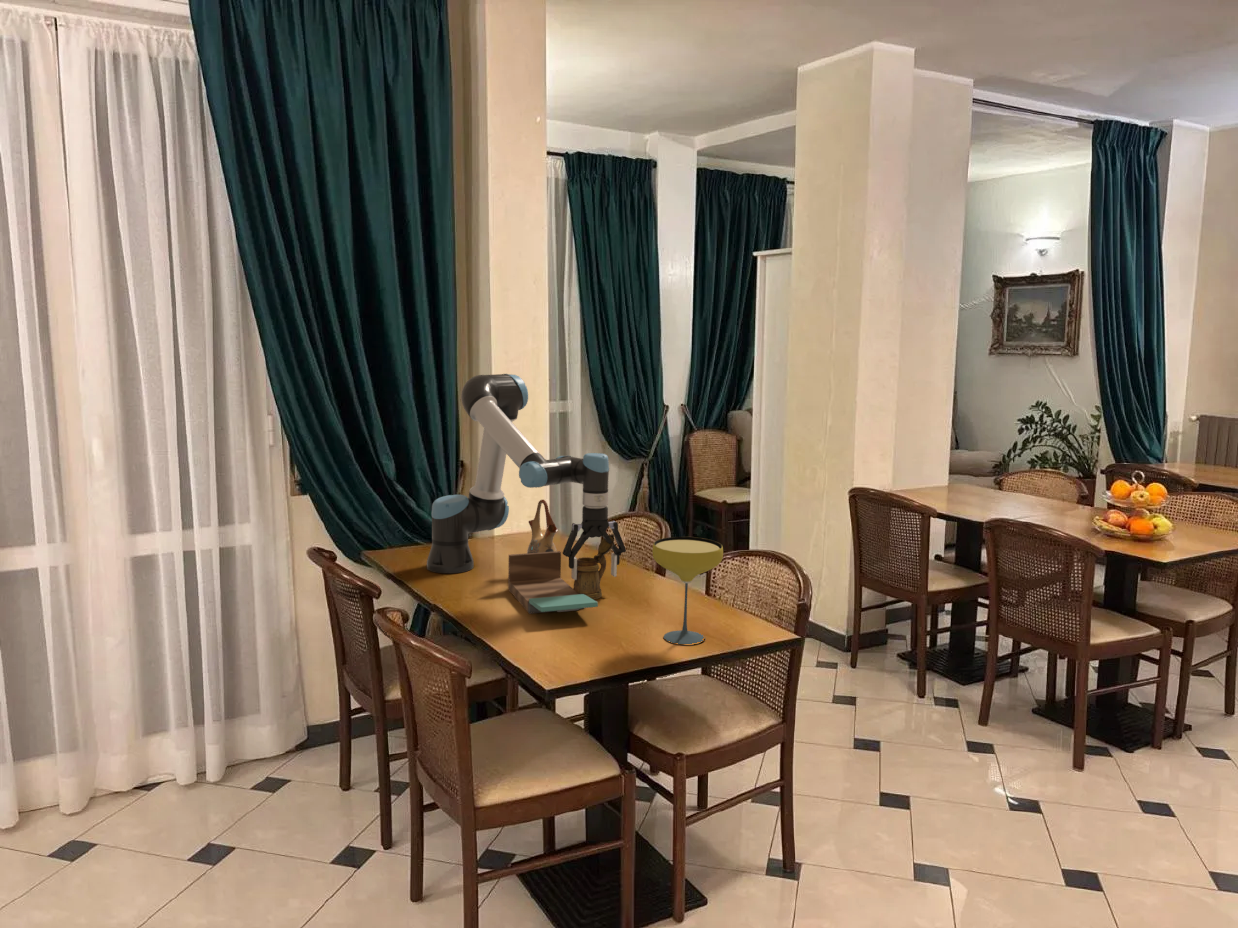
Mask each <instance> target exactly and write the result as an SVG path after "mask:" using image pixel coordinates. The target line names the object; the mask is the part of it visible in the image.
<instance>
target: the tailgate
mask: <svg viewBox="0 0 1238 928" xmlns="http://www.w3.org/2000/svg"><path fill="white" fill-rule="evenodd" d="M529 603H530V604H531V605H533V606H534V607H535V608H537V609H538V610H539V611H541V612H542V613H546V612H545V611H553V612H557V613H561V612H571V611H572V612H573V611H574V612H575V611H579V610H580V609H579V608H584V609H585V608H586V609H587V608H597V607H598V606H599V602H598V601H597V600H596V599H594V600H593V599H591V598H590V597H588V596H586V595H584V594H578V595H566V596H555V597H543V598H532V599H529Z"/></svg>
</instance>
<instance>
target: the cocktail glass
mask: <svg viewBox="0 0 1238 928" xmlns="http://www.w3.org/2000/svg"><path fill="white" fill-rule="evenodd" d="M651 552H652V558H653V560H654V561H655V562H656V563H657V564H658V565H660V567H662V568H663V569H666V570H667V571H670V572H671V573H673V574H675V575H677V576H678V578H679V579H680V580H681V581H682V583H683V584H684V585H685V586H684V607H683V608H684V610H683V624H682V628H681V629H682V630H672V631H669V632H666V633H665V634H664V635H663V639H664V640H665V639H666V640H667V641H670V642H672V643H678V644H692V643H697V642H701V641H703V640H702V639H703V638H704V637H705V636H704V634H702V633H700V632H697V631H691V630H688V622H687V621H688V620H687V619H688V618H687V617H688V616H687V615H688V610H687V609H688V587H689V585H688V584H690V583H691V582H692V581H693V580H694V579H695V578H696V577H697V576H698V575H702V574H703V573H706V572H708V571H711V570H713V569H715V568H716V567H717V566H718V565H720V564H721V562H722V561H723V558H724V547H723V544H722V543H720V542H718V541H715V540H712V539H708V538H703V537H694V536H671V537H670V536H669V537H663V538H660V539H657V540H655V541H654V542H653V544H652V551H651ZM699 633H700V634H699ZM701 634H702V635H701ZM703 636H704V637H703ZM666 640H665V641H666ZM667 641H666V642H667ZM672 643H671V644H672Z"/></svg>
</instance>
